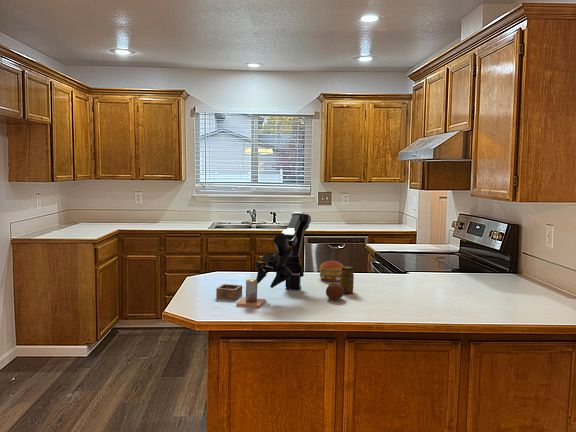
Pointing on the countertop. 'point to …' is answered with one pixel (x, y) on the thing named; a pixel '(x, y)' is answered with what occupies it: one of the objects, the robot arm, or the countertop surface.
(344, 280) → the condiment
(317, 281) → the countertop surface
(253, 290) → the silver and gold cylinder
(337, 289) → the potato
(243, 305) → the terracotta tile
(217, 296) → the socket block
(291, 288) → the robot arm
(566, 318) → the countertop surface
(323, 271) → the burger
